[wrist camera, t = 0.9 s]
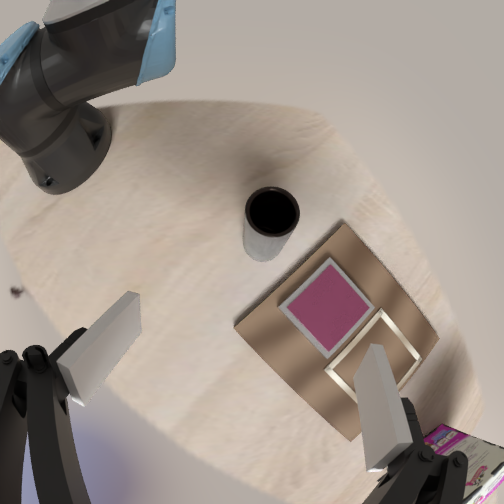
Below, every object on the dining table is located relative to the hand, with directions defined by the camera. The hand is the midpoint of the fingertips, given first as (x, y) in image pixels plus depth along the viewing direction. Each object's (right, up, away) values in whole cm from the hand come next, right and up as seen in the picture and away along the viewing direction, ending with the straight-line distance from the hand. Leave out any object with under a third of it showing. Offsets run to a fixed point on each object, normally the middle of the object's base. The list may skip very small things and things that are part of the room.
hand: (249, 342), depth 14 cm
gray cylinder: (+1, +6, +18) cm, 19 cm away
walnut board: (+12, -5, +16) cm, 21 cm away
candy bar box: (+25, -25, +12) cm, 37 cm away
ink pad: (+9, -2, +16) cm, 18 cm away
